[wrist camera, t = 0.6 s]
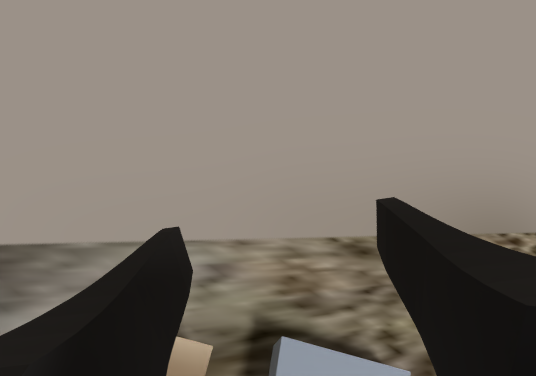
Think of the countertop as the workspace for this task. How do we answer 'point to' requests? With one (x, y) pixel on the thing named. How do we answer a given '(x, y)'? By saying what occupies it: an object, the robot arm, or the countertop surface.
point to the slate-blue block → (322, 362)
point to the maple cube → (189, 358)
